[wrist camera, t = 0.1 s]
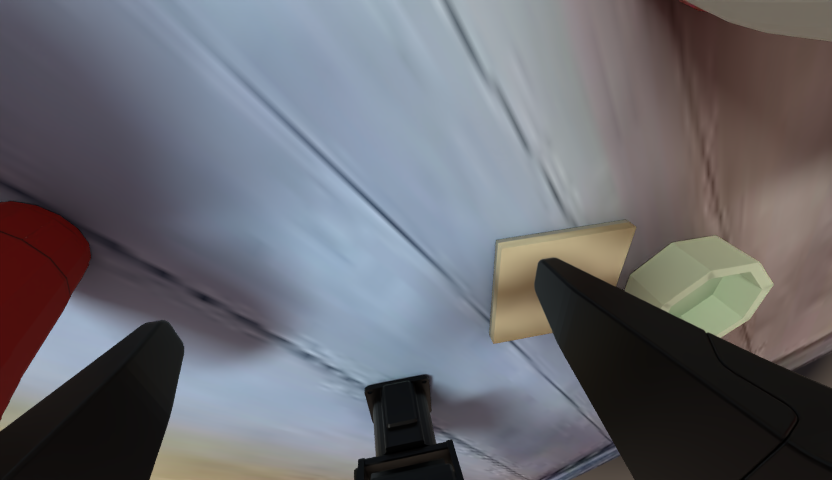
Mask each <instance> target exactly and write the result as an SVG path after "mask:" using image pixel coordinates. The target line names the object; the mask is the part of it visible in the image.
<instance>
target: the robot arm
mask: <svg viewBox="0 0 832 480" xmlns="http://www.w3.org/2000/svg"><path fill="white" fill-rule="evenodd" d="M534 288H535V292H536V295H537V297H538V299H539V302H540V304H541V306H542V309H543V311H544V313H545V316H546V318H547V320H548V323H549V325H550V327H551V330H552V332H553V334H554V337H555V339H556V341H557V343H558V345H559V347H560V349H561V351H562V352H563V354H564V356H565V358H566V359H567V361H568V363H569V365H570V367H571V368H572V370H573V372H574V374H575V375H576V377H577V379H578V381H579V382H580V384H581V386H582V388H583V389H584V391H585V393H586V395H587V397H588V398H589V400H590V402H591V404H592V405H593V407H594V409H595V411H596V412H597V414H598V416H599V418H600V419H601V421H602V423H603V425H604V427H605V428H606V430H607V432H608V434H609V435H610V437H611V439H612V441H613V442H614V444H615V446H616V448H617V449H618V451H619V453H620V455H621V457H622V458H623V460H624V462H625V464H626V465H627V467H628V469H629V470H630V472H631V474H632V476H633V478H634V479H635V480H832V388H830V387H828V386H825V385H823V384H821V383H818V382H816V381H814V380H811V379H809V378H807V377H804V376H802V375H800V374H797V373H795V372H793V371H791V370H788V369H786V368H784V367H782V366H779V365H777V364H775V363H773V362H770V361H768V360H766V359H764V358H761V357H759V356H757V355H755V354H753V353H751V352H749V351H746V350H744V349H742V348H740V347H738V346H736V345H734V344H732V343H730V342H728V341H726V340H723V339H721V338H719V337H717V336H715V335H713V334H711V333H709V332H707V333H706V332H705V331H704V330H703V329H701V328H699V327H697V326H695V325H693V324H691V323H689V322H687V321H685V320H683V319H681V318H679V317H676V316H674V315H672V314H670V313H668V312H666V311H664V310H662V309H660V308H658V307H656V306H654V305H652V304H650V303H648V302H646V301H644V300H642V299H640V298H638V297H636V296H634V295H632V294H630V293H628V292H626V291H624V290H621V289H619V288H617V287H615V286H613V285H611V284H609V283H607V282H605V281H603V280H601V279H599V278H597V277H595V276H593V275H591V274H589V273H587V272H585V271H583V270H581V269H579V268H577V267H575V266H573V265H571V264H568V263H566V262H564V261H562V260H560V259H558V258H555V257H552V258H545V259H541V260H540V261H539V262H538V264H537V270H536V276H535V282H534ZM183 356H184V345H183V342H182V341H181V339H180V338H179V336H178V335H177V333H176V332H175V330H174V329H173V327H172V326H171V324H170V323H169V322H167V321H165V320H160V321H154V322H148V323H145V324H143V325H141V326H140V327H139V328H137V329H136V330H135V331H133V332H132V333H131V334H129V335H128V336H127V337H125V338H124V339H123V340H121V341H120V342H119V343H117V344H116V345H115V346H113V347H112V348H111V349H109V350H108V351H107V352H105V353H104V354H103V355H101V356H100V357H99V358H97V359H96V360H95V361H93V362H92V363H91V364H89V365H88V366H87V367H85V368H84V369H83V370H81V371H80V372H79V373H77V374H76V375H75V376H74V377H72V378H71V379H70V380H68V381H67V382H66V383H64V384H63V385H62V386H60V387H59V388H58V389H56V390H55V391H54V392H52V393H51V394H50V395H48V396H47V397H46V398H44V399H43V400H42V401H40V402H39V403H38V404H36V405H35V406H34V407H32V408H31V409H30V410H28V411H27V412H26V413H24V414H23V415H22V416H20V417H19V418H18V419H16V420H15V421H14V422H12V423H11V424H10V425H8V426H7V427H6V428H4V429H3V430H2V431H0V480H149V479H150V476H151V473H152V470H153V467H154V464H155V461H156V458H157V455H158V452H159V449H160V446H161V443H162V440H163V437H164V434H165V431H166V428H167V425H168V422H169V418H170V415H171V411H172V407H173V402H174V398H175V393H176V388H177V384H178V379H179V375H180V370H181V365H182V361H183ZM365 396H366V400H367V403H368V407H369V411H370V414H371V418H372V422H373V423H374V435H375V450H376V457H372V458H367V459H365V458H362V459H358V468H356V469H355V470H354V480H464V478H463V475H462V472H461V468H460V465H459V461H458V458H457V455H456V451H455V448H454V444H453V441H452V439H451V440H447V441H446V442H443V443H438V444H436V440H435V435H434V430H433V425H432V420H431V416H430V412H431V411H432V409H431V397H430V386H429V378H428V376H426V375H424V376H418V377H413V378H408V379H403V380H398V381H393V382H387V383H382V384H377V385H372V386H368V387H366V388H365Z"/></svg>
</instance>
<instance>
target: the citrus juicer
mask: <svg viewBox="0 0 832 480" xmlns="http://www.w3.org/2000/svg"><path fill="white" fill-rule="evenodd" d="M679 1H680V2H682V3H684V4H686V5H688V6H690V7H692V8H694V9H696V10H698V11H704V12H709V13H711V14H713V15H715V16H717V17H719V18H721V19H723V20H725V21H727V22H730V23H733V24H737V25H740V26H744V27H747V28H750V29H754V30H757V31H761V32H764V33H770V34H778V35H785V36H792V37H800V38H808V39H815V40H823V41H831V42H832V0H679Z"/></svg>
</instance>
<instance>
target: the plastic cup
mask: <svg viewBox="0 0 832 480" xmlns="http://www.w3.org/2000/svg"><path fill="white" fill-rule="evenodd" d="M90 259H91V253H90V247H89V243H88V242H87V240H86V239H85V238H84V236H83V235H82V234H81V232H80V231H79V229H78V228H76V227H75V226H74V225H72V224H71V223H69V222H68V221H67V220H65V219H64V218H63V217H61V216H60V215H58V214H55V213H53V212H51V211H48V210H46V209H44V208H41V207H39V206H36V205H31V204H25V203H19V202H13V201H8V202H0V420H1V419H2V415H3V413H4V411H5V409H6V407H7V406H8V404H9V402H10V399H11V397H12V395H13V393H14V392H15V390H16V388H17V386H18V384H19V382H20V380H21V378H22V376H23V374H24V373H25V371H26V370H27V368H28V366H29V365H30V363H31V362H32V360H33V358H34V357H35V355H36V354H37V352H38V350H39V349H40V347H41V346H42V344H43V342H44V341H45V339H46V338H47V336H48V334H49V333H50V331H51V330H52V328H53V326H54V325H55V323H56V322H57V320H58V318H59V317H60V315H61V314H62V312H63V310H64V309H65V307H66V305H67V303H68V301H69V299H70V297H71V294H72V293H73V291H74V289H75V288H76V286H77V285H78V283H79V282H80V280H81V279H82V277H83V275H84V273H85V271H86V269H87V268H88V266H89V261H90Z"/></svg>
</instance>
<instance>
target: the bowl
mask: <svg viewBox="0 0 832 480" xmlns="http://www.w3.org/2000/svg"><path fill="white" fill-rule="evenodd" d="M773 285H774V284H773V283H772V281H771V279H770V278H769V276H768V275H767V273H766V271H765V270H764V268H763V267H762V265H761V263H760V262H759V261H757V260H755V259H754V258H752V257H750V256H749V255H747V254H745V253H744V252H742V251H741V250H739V249H737V248H736V247H734V246H732V245H731V244H729V243H728V242H726V241H724V240H723V239H721V238H719V237H718V236H716V235H715V236H709V237H703V238H697V239H691V240H685V241H679V242H673V243H671V244H669V245H668V246H667V247H666V248H664V249H663V250H662V251H660V252H659V253H658V254H656V255H655V256H654V257H653V258H651V259H650V260H649V261H647V262H646V263H645V264H643V265H642V266H641V267H639V268H638V269H637V270H636V271H634V272H633V273H632V274H630V277H629V279H628V282H627V285H626V287H625V290H624V291H626V292H628V293H630V294H632V295H634V296H636V297H638V298H640V299H642V300H644V301H646V302H648V303H650V304H652V305H654V306H656V307H658V308H660V309H662V310H664V311H666V312H668V313H670V314H672V315H674V316H676V317H679V318H681V319H683V320H685V321H687V322H689V323H691V324H693V325H695V326H697V327H699V328H701V329H703V330H704V331H705V332H706V333H707V332H709V333H711V334H713V335H715V336H717V337H719V338H721V337H722V336H724V335H726V334H727V333H729V332H730V331H732V330H733V329H735V328H737V327H738V326H740V325H741V324H743V323H744V322H746V321H748V320H749V319H750V318H751V317H752V315H753V314H754V312H755V311H756V309H757V308H758V306H759V305H760V304H761V302H762V301H763V299H764V298H765V296H766V295H767V293H768V292H769V291H770V289H771V288H772V286H773Z"/></svg>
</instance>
